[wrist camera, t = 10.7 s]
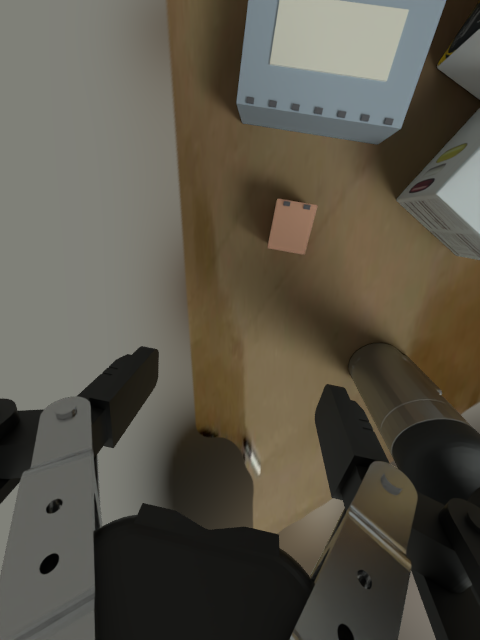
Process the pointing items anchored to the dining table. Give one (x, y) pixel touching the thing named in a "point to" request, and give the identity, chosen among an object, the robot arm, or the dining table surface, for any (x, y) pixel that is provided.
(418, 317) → the dining table surface
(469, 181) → the supplement box
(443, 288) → the dining table surface
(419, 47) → the block
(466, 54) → the medicine bottle
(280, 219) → the stub
